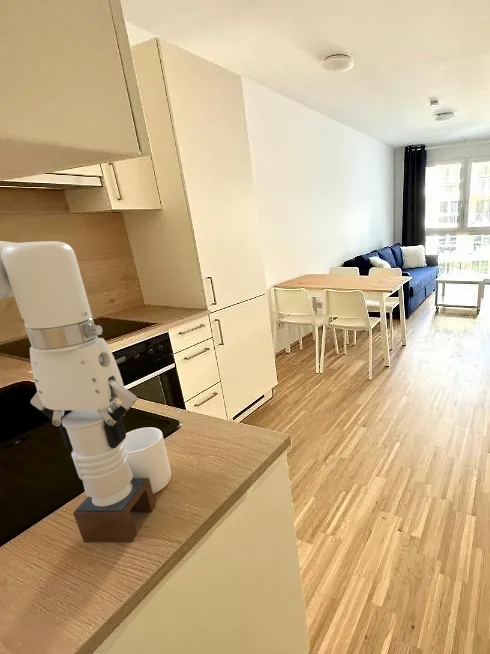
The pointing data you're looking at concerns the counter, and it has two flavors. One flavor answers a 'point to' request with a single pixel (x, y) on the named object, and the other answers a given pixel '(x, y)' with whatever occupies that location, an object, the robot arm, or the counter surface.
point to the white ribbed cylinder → (98, 458)
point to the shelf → (114, 515)
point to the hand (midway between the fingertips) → (96, 442)
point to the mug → (148, 456)
